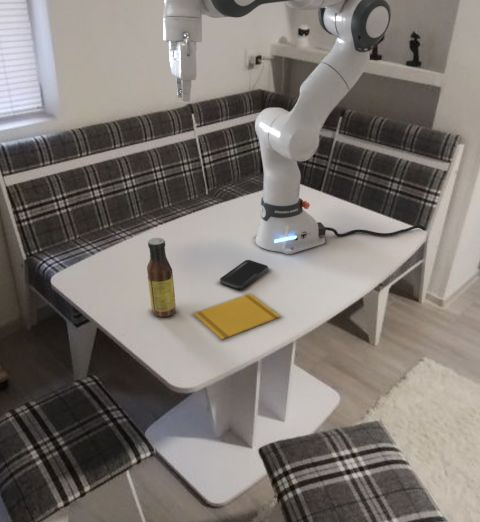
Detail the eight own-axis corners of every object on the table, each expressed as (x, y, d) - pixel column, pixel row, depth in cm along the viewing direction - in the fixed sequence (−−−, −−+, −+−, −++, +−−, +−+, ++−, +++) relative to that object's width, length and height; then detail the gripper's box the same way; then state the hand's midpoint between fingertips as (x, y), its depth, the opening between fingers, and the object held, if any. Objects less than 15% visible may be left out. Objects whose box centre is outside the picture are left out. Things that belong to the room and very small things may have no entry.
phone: (218, 279, 147) (247, 259, 157) (218, 283, 148) (247, 262, 158) (242, 288, 144) (269, 266, 153) (241, 291, 144) (269, 269, 154)
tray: (250, 295, 143) (250, 293, 143) (280, 317, 134) (280, 315, 134) (194, 315, 135) (193, 313, 135) (221, 340, 126) (221, 338, 126)
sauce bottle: (180, 311, 136) (177, 241, 124) (163, 321, 133) (157, 249, 121) (163, 302, 140) (158, 233, 128) (146, 311, 136) (138, 241, 124)
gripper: (203, 32, 112) (202, 103, 119) (190, 34, 129) (190, 96, 136) (173, 31, 111) (175, 103, 118) (164, 33, 128) (166, 95, 135)
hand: (183, 99), depth 127 cm, fingers open, 8 cm apart
